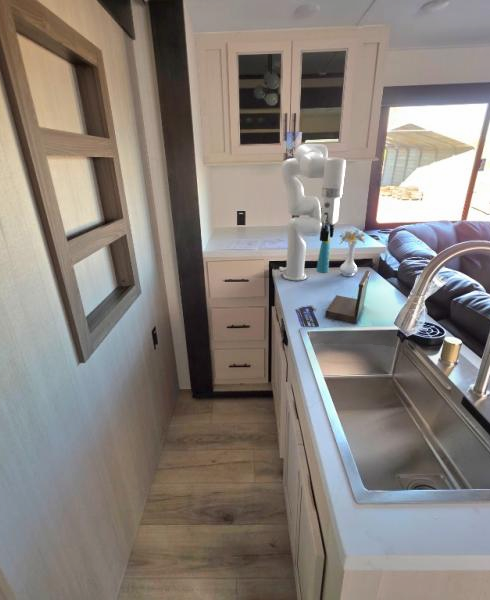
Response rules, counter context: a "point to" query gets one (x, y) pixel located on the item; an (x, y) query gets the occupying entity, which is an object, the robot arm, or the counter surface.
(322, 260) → the tube
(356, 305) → the dark wooden bookend
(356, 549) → the counter surface
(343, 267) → the flower vase
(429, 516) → the counter surface
